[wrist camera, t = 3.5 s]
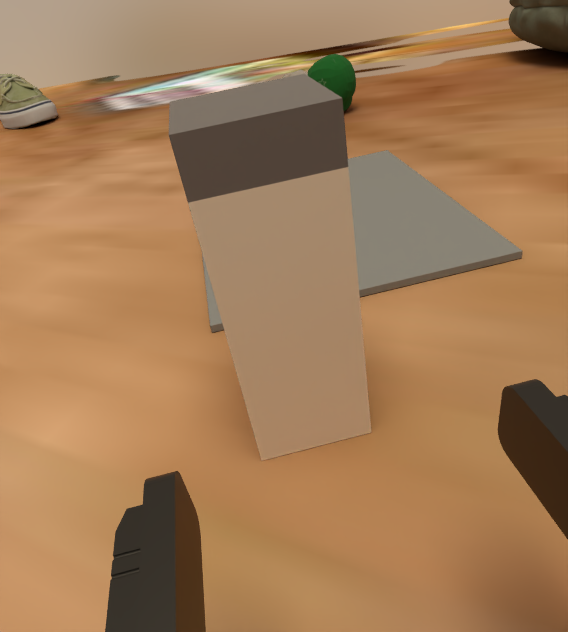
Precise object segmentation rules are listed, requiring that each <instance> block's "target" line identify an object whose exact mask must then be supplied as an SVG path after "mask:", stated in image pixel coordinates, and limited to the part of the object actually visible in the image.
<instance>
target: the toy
mask: <svg viewBox="0 0 568 632" xmlns="http://www.w3.org/2000/svg"><path fill="white" fill-rule="evenodd" d="M301 74H305V75H307V76H308V77H310V78H312V79H313V80H315V81H316V82H318V83H320V84H321V85H323V86H324V87H326V88H327V89H329V90H331V91H332V92H334V93H335V94H337V95H338V96H340V97H342V100H343V111H345V110H347V109H348V108H349V106H350V104H351V102H352V96H353V94H354V92H355V87H356V77H355V72H354V69H353V67H352V64H351V63H350V61H349V60H347V59H346V58H345V57H343V56H341V55H337V54H332V55H328V56H326V57H324V58H322V59H320V60H319V61H317V62H315V63H314V64H313V66H312V67H311V68H310V69H309V70H308V74H307V73H306V72H304V71H303V70H298V71H295V72H292V73H289V74H287V75H284V76H283V77H282V78H286V77H291V76H296V75H301Z"/></svg>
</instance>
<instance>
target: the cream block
mask: <svg viewBox="0 0 568 632" xmlns="http://www.w3.org/2000/svg"><path fill="white" fill-rule="evenodd" d="M169 137H170V141H171V145H172V148H173V152H174V155H175V159H176V162H177V166H178V169H179V173H180V176H181V180H182V183H183V187H184V190H185V194H186V197H187V201H188V204H189V208H190V211H191V215H192V218H193V222H194V225H195V229H196V232H197V236H198V239H199V243H200V246H201V250H202V253H203V257H204V260H205V264H206V267H207V271H208V275H209V278H210V282H211V285H212V289H213V292H214V296H215V299H216V303H217V306H218V310H219V313H220V317H221V320H222V324H223V327H224V331H225V334H226V338H227V341H228V345H229V348H230V352H231V355H232V359H233V362H234V366H235V369H236V373H237V376H238V380H239V383H240V387H241V390H242V394H243V397H244V401H245V405H246V408H247V412H248V415H249V419H250V422H251V426H252V429H253V433H254V436H255V440H256V443H257V447H258V450H259V454H260V457H261V461H263V460H267V459H271V458H275V457H279V456H282V455H286V454H290V453H294V452H298V451H302V450H306V449H309V448H313V447H317V446H321V445H325V444H329V443H333V442H336V441H340V440H344V439H348V438H352V437H356V436H360V435H363V434H367V433H371V421H370V410H369V398H368V387H367V375H366V364H365V352H364V341H363V329H362V318H361V306H360V295H359V284H358V272H357V261H356V249H355V238H354V226H353V215H352V203H351V192H350V180H349V169H348V157H347V146H346V135H345V123H344V112H343V100H342V97H340V96H338V95H337V94H335V93H334V92H332V91H331V90H329V89H327V88H326V87H324V86H323V85H321V84H320V83H318V82H316V81H315V80H313V79H312V78H310V77H308V76H307V75H305V74H301V75H296V76H291V77H286V78H282V79H277V80H272V81H268V82H263V83H258V84H253V85H248V86H243V87H239V88H234V89H229V90H224V91H220V92H215V93H210V94H205V95H201V96H196V97H191V98H186V99H181V100H177V101H172V102H170V112H169Z"/></svg>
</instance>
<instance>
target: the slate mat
mask: <svg viewBox="0 0 568 632" xmlns="http://www.w3.org/2000/svg"><path fill="white" fill-rule="evenodd" d="M348 169H349V180H350V192H351V203H352V215H353V226H354V238H355V249H356V261H357V272H358V284H359V295H360V297H362V296H366V295H370V294H374V293H378V292H383V291H387V290H391V289H395V288H399V287H403V286H407V285H412V284H416V283H420V282H424V281H428V280H432V279H436V278H441V277H445V276H449V275H453V274H457V273H461V272H466V271H470V270H474V269H478V268H482V267H486V266H490V265H495V264H499V263H503V262H507V261H511V260H515V259H519V258H522V250H521V249H519V248H518V247H516V246H515V245H514V244H512V243H511V242H510V241H508V240H507V239H506V238H504V237H503V236H502V235H500V234H499V233H498V232H496V231H495V230H494V229H492V228H491V227H490V226H488V225H487V224H486V223H484V222H483V221H482V220H480V219H479V218H478V217H476V216H475V215H473V214H472V213H471V212H469V211H468V210H467V209H465V208H464V207H463V206H461V205H460V204H459V203H457V202H456V201H455V200H453V199H452V198H451V197H449V196H448V195H447V194H445V193H444V192H443V191H441V190H440V189H439V188H437V187H436V186H435V185H433V184H432V183H431V182H429V181H428V180H426V179H425V178H424V177H422V176H421V175H420V174H418V173H417V172H416V171H414V170H413V169H412V168H410V167H409V166H408V165H406V164H405V163H404V162H402V161H401V160H400V159H398V158H397V157H396V156H394V155H393V154H392V153H390V152H389V151H388V150H386V151H382V152H377V153H373V154H368V155H364V156H359V157H355V158H350V159H348ZM202 256H203V253H202ZM203 265H204V274H205V283H206V292H207V301H208V310H209V319H210V327H211V330H212V333H213V332H217V331H221V330H224V327H223V324H222V320H221V317H220V313H219V310H218V306H217V303H216V299H215V296H214V292H213V289H212V285H211V282H210V278H209V275H208V271H207V267H206V264H205V260H204V257H203Z"/></svg>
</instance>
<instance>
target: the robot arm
mask: <svg viewBox="0 0 568 632" xmlns="http://www.w3.org/2000/svg"><path fill="white" fill-rule="evenodd" d="M498 435H499V440H500V443H501V445H502V447H503V449H504V451H505V453H506V454H507V456H508V457H509V459H510V460H511V461H512V463H513V464H514V466H515V467H516V468H517V470H518V471H519V473H520V474H521V475H522V477H523V478H524V479H525V481H526V482H527V484H528V485H529V486H530V488H531V489H532V491H533V492H534V493H535V495H536V496H537V497H538V499H539V500H540V502H541V503H542V504H543V506H544V507H545V509H546V510H547V511H548V513H549V514H550V516H551V517H552V518H553V520H554V521H555V522H556V524H557V525H558V527H559V528H560V529H561V531H562V532H563V534H564V535H565V536H566V538H567V539H568V396H566V395H562V396H559V397H556V396H555V395H554V394H553V393H552V392H551V391H550V390H549V389H548V388H547V387H546V386H545V385H544V384H543V383H542V382H541V381H539V380H536V379H534V380H530V381H526V382H522V383H518V384H514V385H511V386H507V387H505V388H504V389H503V392H502V399H501V407H500V415H499V423H498ZM113 556H114V560H113V562H112V571H111V576H112V580H111V581H110V591H109V600H108V610H107V619H106V629H105V632H206V629H205V610H204V591H203V572H202V553H201V535H200V526H199V521H198V516H197V513H196V509H195V507H194V505H193V502H192V500H191V498H190V495H189V493H188V491H187V489H186V486H185V484H184V482H183V479H182V477H181V475H180V473H179V472H178V471H175V472H171V473H167V474H164V475H160V476H156V477H152V478H148V479H146V480H145V483H144V494H143V505H140V506H136V507H132V508H128V509H127V510H126V512H125V514H124V516H123V518H122V520H121V522H120V524H119V526H118V528H117V530H116V533H115V542H114V552H113Z"/></svg>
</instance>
